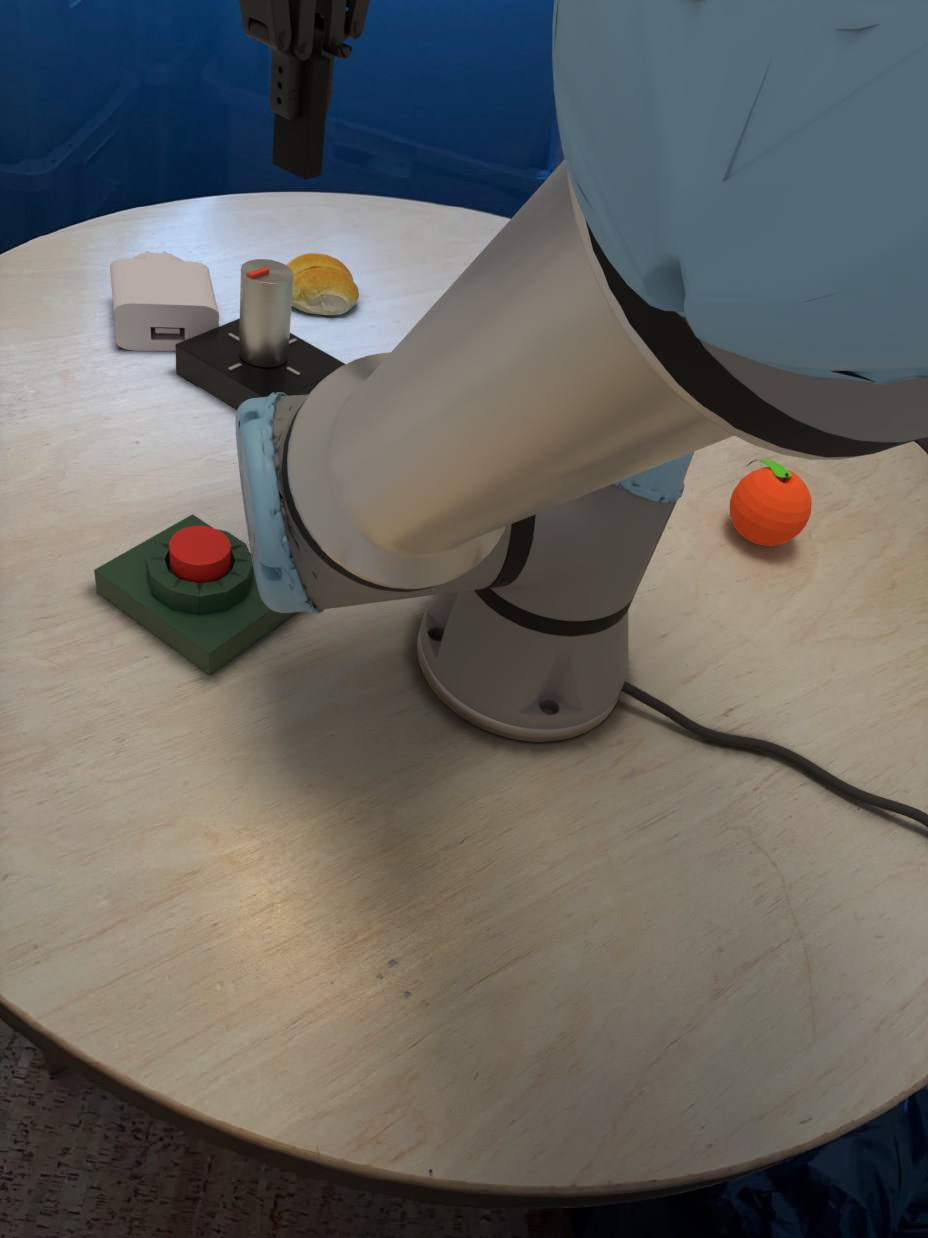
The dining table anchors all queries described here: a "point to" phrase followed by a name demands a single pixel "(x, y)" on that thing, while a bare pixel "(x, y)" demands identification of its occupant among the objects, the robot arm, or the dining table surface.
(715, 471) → the dining table surface
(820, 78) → the robot arm
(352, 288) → the bread roll
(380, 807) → the dining table surface
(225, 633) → the button block
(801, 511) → the clementine
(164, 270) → the charger
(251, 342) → the dial
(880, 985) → the dining table surface
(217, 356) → the panel
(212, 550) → the button
